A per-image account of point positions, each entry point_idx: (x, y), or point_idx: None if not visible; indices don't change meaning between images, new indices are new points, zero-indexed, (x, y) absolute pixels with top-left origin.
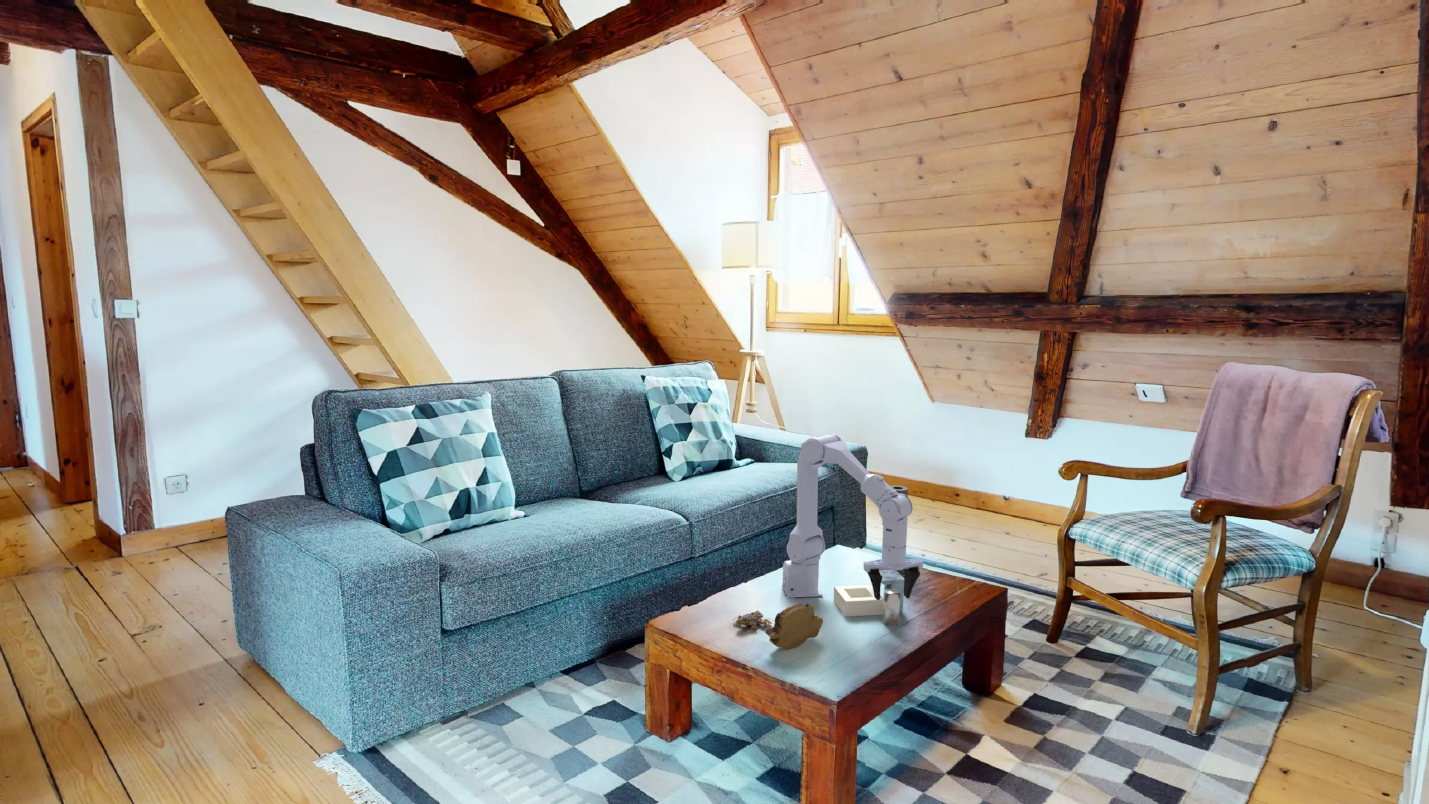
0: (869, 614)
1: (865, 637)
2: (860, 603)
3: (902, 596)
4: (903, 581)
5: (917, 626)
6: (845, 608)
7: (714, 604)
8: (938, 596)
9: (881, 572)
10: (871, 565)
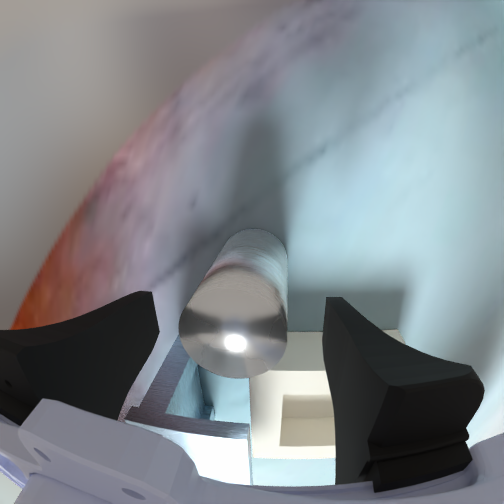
0: (310, 333)
1: (404, 146)
2: None
3: (163, 369)
4: (137, 415)
5: (158, 216)
6: None
7: None
8: None
9: None
10: (490, 498)
